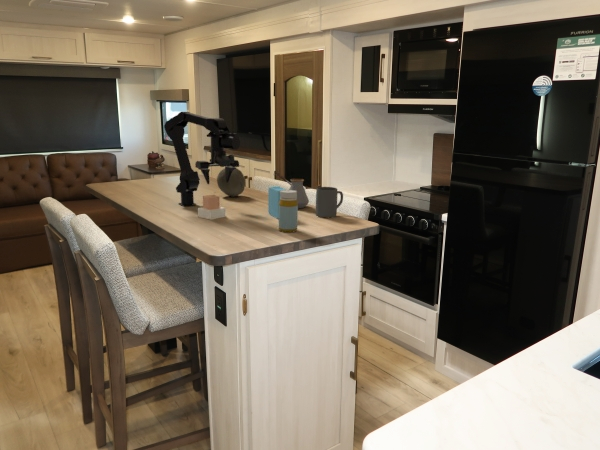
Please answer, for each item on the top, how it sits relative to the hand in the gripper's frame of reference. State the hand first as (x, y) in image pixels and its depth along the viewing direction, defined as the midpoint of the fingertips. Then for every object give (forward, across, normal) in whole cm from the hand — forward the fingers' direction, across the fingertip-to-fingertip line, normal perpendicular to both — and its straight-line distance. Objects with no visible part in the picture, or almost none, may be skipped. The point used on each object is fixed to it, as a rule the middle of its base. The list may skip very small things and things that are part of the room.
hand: (217, 183), depth 209 cm
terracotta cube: (+8, -9, -12) cm, 17 cm away
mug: (+12, +36, -35) cm, 52 cm away
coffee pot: (+12, +33, -8) cm, 36 cm away
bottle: (+12, +5, -47) cm, 49 cm away
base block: (+12, -9, -11) cm, 19 cm away
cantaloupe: (+12, +20, +25) cm, 35 cm away
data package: (+12, +16, -25) cm, 32 cm away
